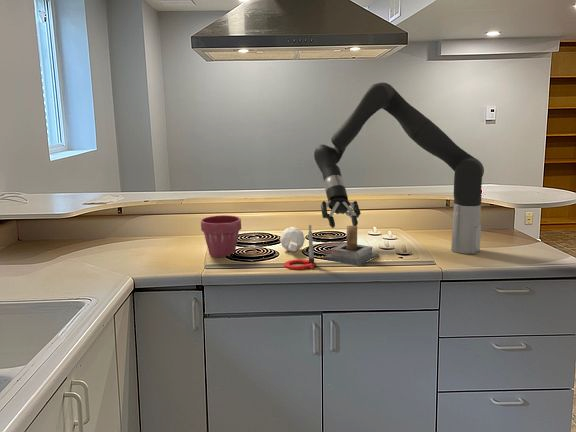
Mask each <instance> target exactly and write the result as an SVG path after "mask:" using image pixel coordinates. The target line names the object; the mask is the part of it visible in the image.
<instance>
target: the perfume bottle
mask: <svg viewBox="0 0 576 432" xmlns="http://www.w3.org/2000/svg"><path fill="white" fill-rule="evenodd" d="M305 239H306V238H305V236H304V232H303V231H302V230H300V228H297V227H295V226H290V227H286V228H285V229H284V230H283V231H282V232H281V235H280V238H279V241H280V245H281V246H282V247H283V249H285V250H286V251H288V252H292V253H293V252H297V251H299V250H300V249H301V248H302V247H304V244H305V241H306V240H305Z"/></svg>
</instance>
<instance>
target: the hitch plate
mask: <svg viewBox="0 0 576 432" xmlns="http://www.w3.org/2000/svg"><path fill="white" fill-rule="evenodd" d="M378 255H379V256H380V253H379V252H375V251H374V252H373V246H370V245H362V244H358V243H357V251H351V250H347V242H344V243H341V244H339V245H337V246H335V247H333V248H331V249H330V253H329V254H326V255H325V256H323V259H324V260H325V259H326V260H327V261H331V262H337V263H343V264H349V265H354V266H363V265H364V263H365V262H367V261H368V260H370V259H372V258H374V257H376V256H378ZM379 256H378V257H379ZM376 258H377V257H376ZM374 259H375V258H374ZM372 260H373V259H372ZM367 263H368V262H367ZM365 264H366V263H365Z"/></svg>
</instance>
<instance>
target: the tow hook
mask: <svg viewBox="0 0 576 432" xmlns="http://www.w3.org/2000/svg"><path fill="white" fill-rule="evenodd" d="M307 235H308V259H290V260H287V261H285V262H284V263H283V264H284V265H283V266H284V268H285V269H288V270H304V269H310V270H313V269H314V268H315V253H314V244H313V243H314V241H313V231H312V225H311V224H309V225H308V233H307ZM293 264H300V265H293ZM301 264H302V265H301Z"/></svg>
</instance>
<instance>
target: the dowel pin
mask: <svg viewBox="0 0 576 432" xmlns="http://www.w3.org/2000/svg"><path fill="white" fill-rule="evenodd" d="M346 243H347V250H351V251H357V244H358V225H357V226H353V225H347V226H346Z"/></svg>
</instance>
